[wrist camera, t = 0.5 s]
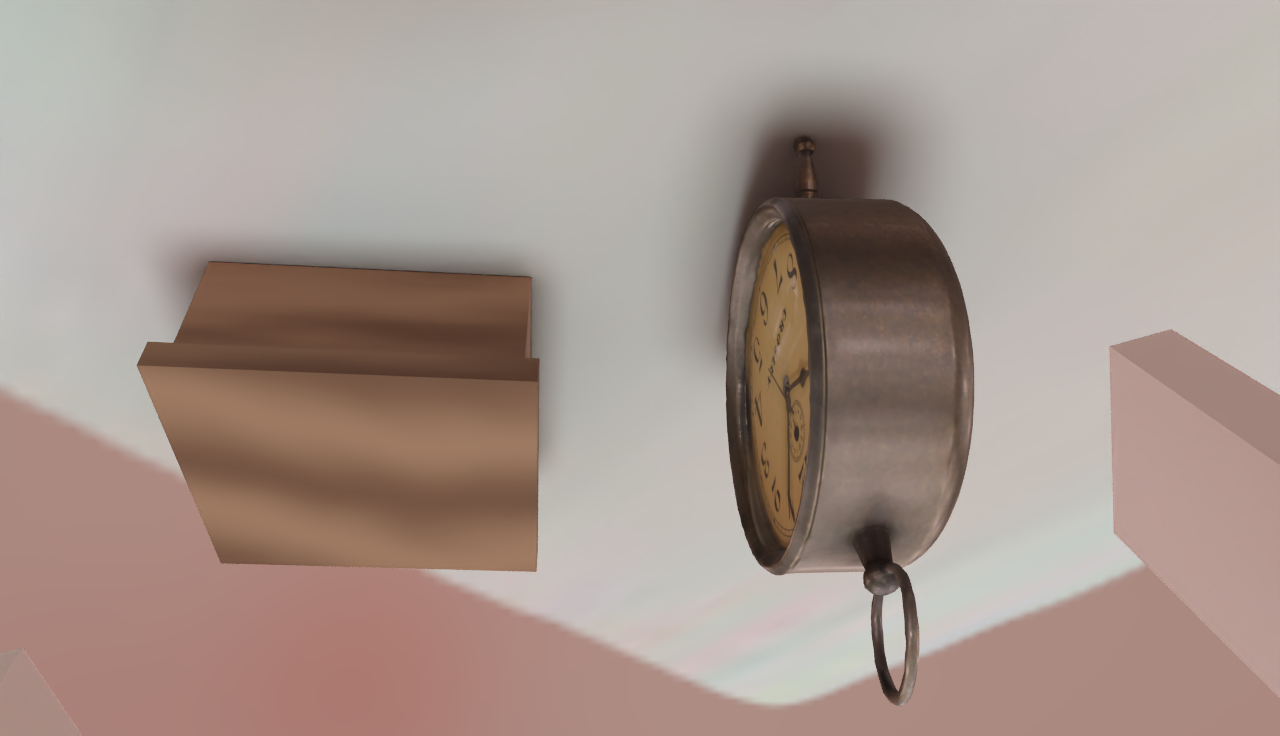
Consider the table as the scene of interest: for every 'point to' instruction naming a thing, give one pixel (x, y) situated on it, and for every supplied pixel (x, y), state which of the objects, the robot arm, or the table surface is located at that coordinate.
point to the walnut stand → (356, 416)
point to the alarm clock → (847, 392)
